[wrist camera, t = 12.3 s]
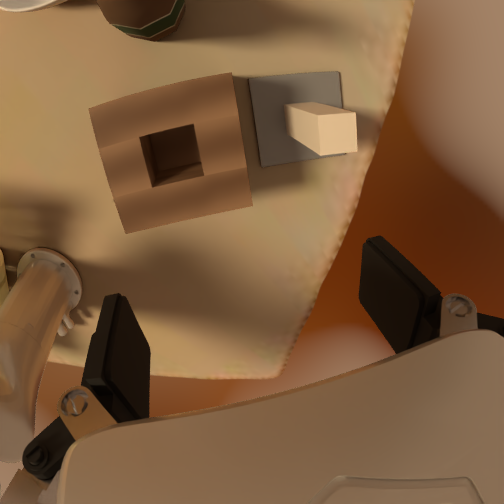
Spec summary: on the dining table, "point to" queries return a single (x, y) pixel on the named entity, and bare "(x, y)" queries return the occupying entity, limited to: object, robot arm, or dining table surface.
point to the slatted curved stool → (3, 280)
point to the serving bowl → (27, 5)
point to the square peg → (322, 127)
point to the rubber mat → (273, 116)
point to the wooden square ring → (173, 152)
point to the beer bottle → (144, 16)
